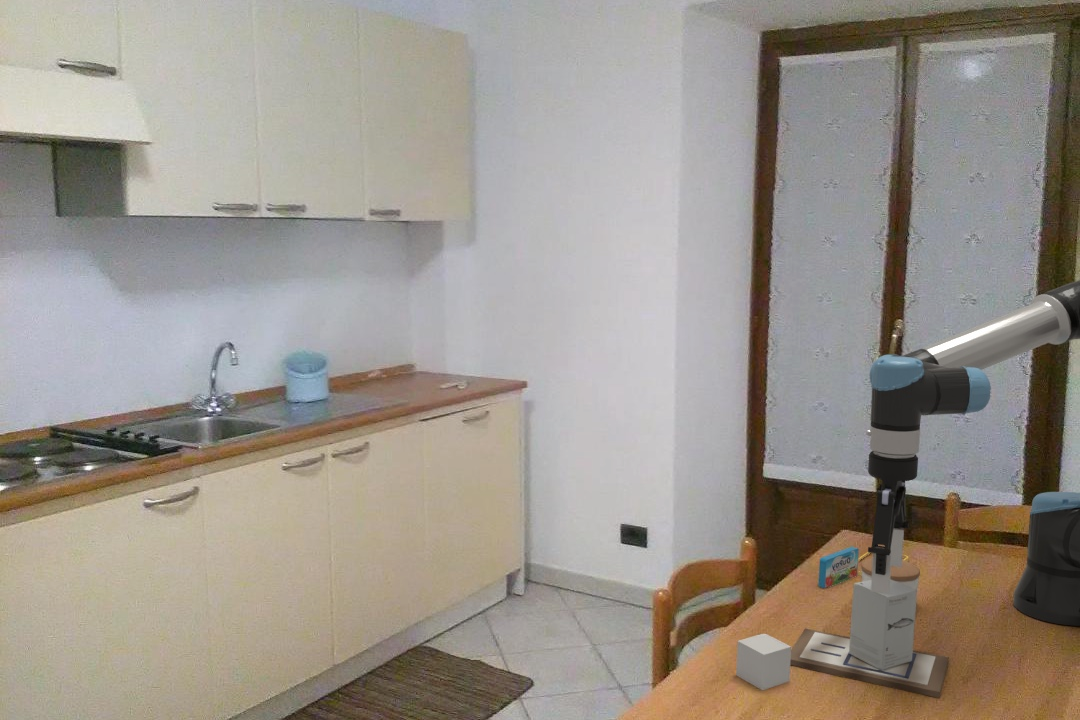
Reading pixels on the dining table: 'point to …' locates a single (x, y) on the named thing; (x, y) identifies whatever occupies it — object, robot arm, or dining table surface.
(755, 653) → the gray cube
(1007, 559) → the dining table surface
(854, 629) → the supplement box
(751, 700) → the dining table surface
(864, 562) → the lidded jar
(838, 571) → the yogurt
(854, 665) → the brown framed board
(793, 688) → the dining table surface
